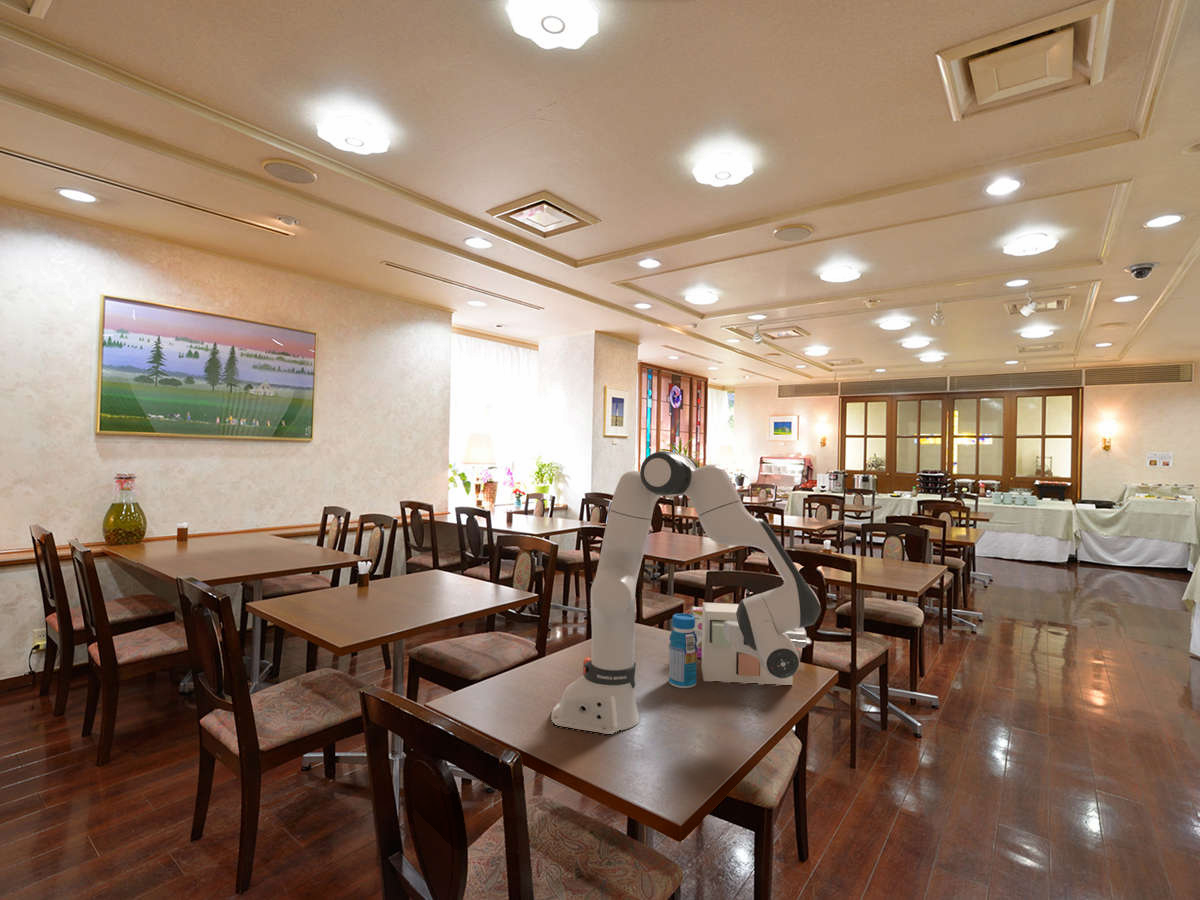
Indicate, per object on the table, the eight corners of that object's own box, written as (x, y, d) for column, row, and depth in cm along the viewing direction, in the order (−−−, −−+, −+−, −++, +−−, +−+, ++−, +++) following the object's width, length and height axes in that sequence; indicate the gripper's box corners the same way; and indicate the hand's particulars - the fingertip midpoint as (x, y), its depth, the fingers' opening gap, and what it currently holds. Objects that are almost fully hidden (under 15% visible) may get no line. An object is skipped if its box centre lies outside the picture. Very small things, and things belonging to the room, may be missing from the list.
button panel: (703, 680, 176) (705, 611, 176) (701, 668, 186) (702, 602, 186) (792, 686, 173) (793, 615, 173) (785, 673, 183) (786, 606, 184)
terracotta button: (738, 674, 173) (738, 654, 173) (735, 667, 179) (736, 648, 179) (759, 676, 172) (759, 655, 173) (755, 668, 178) (756, 649, 178)
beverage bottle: (666, 687, 170) (667, 618, 170) (670, 676, 179) (671, 611, 179) (695, 690, 168) (697, 621, 168) (697, 679, 176) (699, 613, 177)
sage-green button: (712, 645, 172) (712, 625, 172) (710, 639, 178) (711, 619, 178) (733, 646, 171) (733, 626, 171) (730, 640, 177) (731, 620, 177)
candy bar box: (690, 659, 194) (691, 609, 195) (689, 654, 199) (690, 606, 200) (724, 661, 193) (725, 611, 193) (722, 655, 198) (723, 607, 198)
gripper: (814, 631, 140) (800, 615, 154) (727, 624, 142) (721, 610, 156) (813, 657, 140) (799, 639, 154) (726, 650, 142) (720, 633, 156)
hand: (759, 624), depth 155 cm, fingers closed
